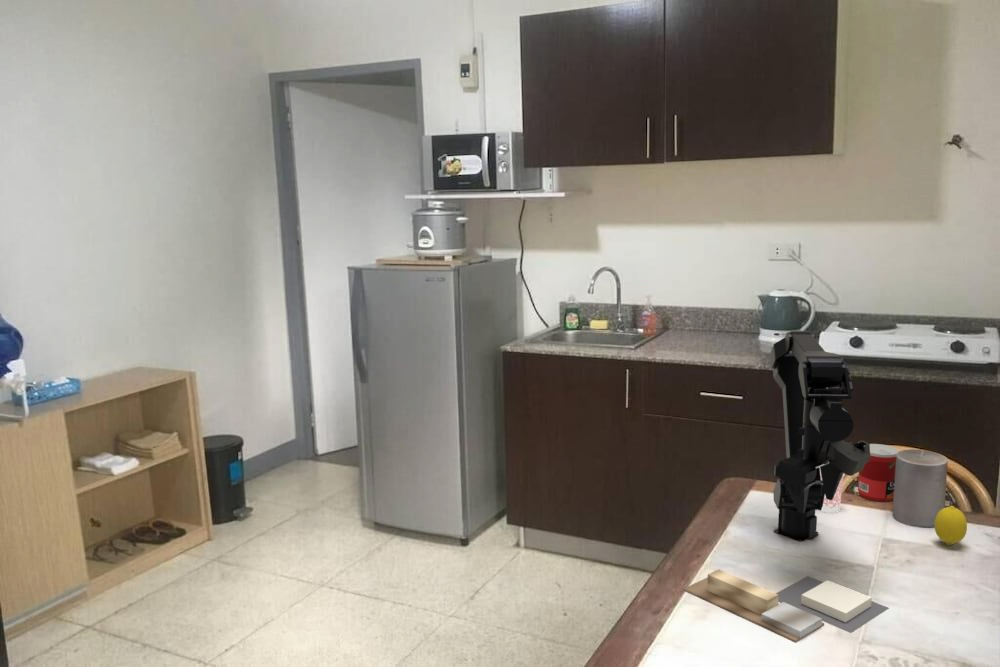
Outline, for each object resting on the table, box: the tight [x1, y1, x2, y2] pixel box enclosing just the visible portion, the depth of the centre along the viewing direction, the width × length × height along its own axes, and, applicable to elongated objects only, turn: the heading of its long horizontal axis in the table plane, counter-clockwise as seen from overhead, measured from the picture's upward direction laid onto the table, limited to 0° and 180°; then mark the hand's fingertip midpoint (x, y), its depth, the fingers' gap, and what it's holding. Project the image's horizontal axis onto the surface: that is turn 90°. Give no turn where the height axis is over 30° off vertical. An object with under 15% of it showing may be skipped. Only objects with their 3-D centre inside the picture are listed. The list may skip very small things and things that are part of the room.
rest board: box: [683, 576, 825, 643], centre depth 142 cm, size 22×8×1 cm, turn 38°
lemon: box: [934, 505, 968, 546], centre depth 164 cm, size 6×6×8 cm
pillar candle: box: [892, 449, 949, 528], centre depth 176 cm, size 10×10×15 cm
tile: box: [801, 580, 873, 622], centre depth 141 cm, size 2×8×8 cm
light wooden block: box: [707, 569, 823, 638], centre depth 140 cm, size 19×6×3 cm, turn 38°
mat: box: [775, 575, 890, 634], centre depth 143 cm, size 15×12×1 cm
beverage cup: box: [819, 467, 846, 514], centre depth 182 cm, size 6×6×14 cm
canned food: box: [857, 443, 899, 503], centre depth 189 cm, size 8×8×11 cm
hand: (815, 505), depth 154 cm, fingers open, 9 cm apart
